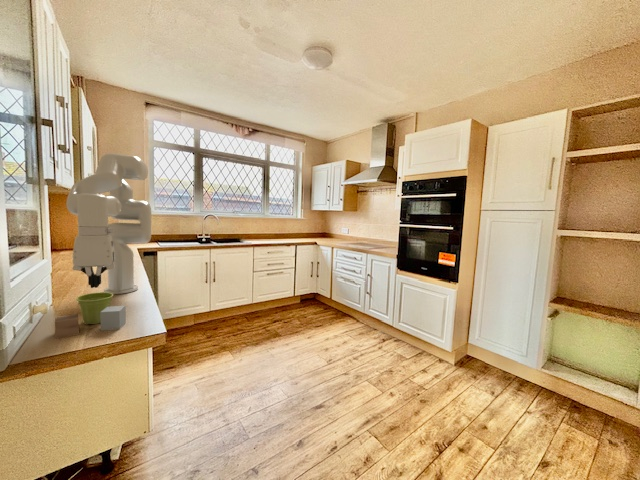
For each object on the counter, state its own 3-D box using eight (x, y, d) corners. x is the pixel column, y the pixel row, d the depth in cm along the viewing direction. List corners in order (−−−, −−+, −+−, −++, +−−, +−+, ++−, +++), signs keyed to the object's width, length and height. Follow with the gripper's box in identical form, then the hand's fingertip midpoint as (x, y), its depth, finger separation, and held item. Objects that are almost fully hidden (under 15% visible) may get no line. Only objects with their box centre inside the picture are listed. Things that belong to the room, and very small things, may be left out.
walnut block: (56, 332, 80) (55, 316, 79) (78, 328, 83) (78, 313, 83) (55, 339, 76) (54, 322, 76) (78, 334, 80) (78, 318, 79)
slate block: (107, 324, 87) (107, 306, 87) (125, 323, 89) (125, 305, 88) (100, 330, 83) (99, 312, 82) (119, 329, 84) (119, 311, 84)
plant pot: (106, 313, 95) (106, 290, 95) (118, 320, 91) (118, 295, 90) (72, 322, 87) (71, 296, 87) (84, 329, 83) (83, 302, 82)
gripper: (123, 231, 93) (124, 282, 95) (67, 230, 86) (69, 285, 88) (119, 233, 87) (120, 287, 88) (58, 232, 80) (60, 291, 81)
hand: (95, 286), depth 88 cm, fingers closed
